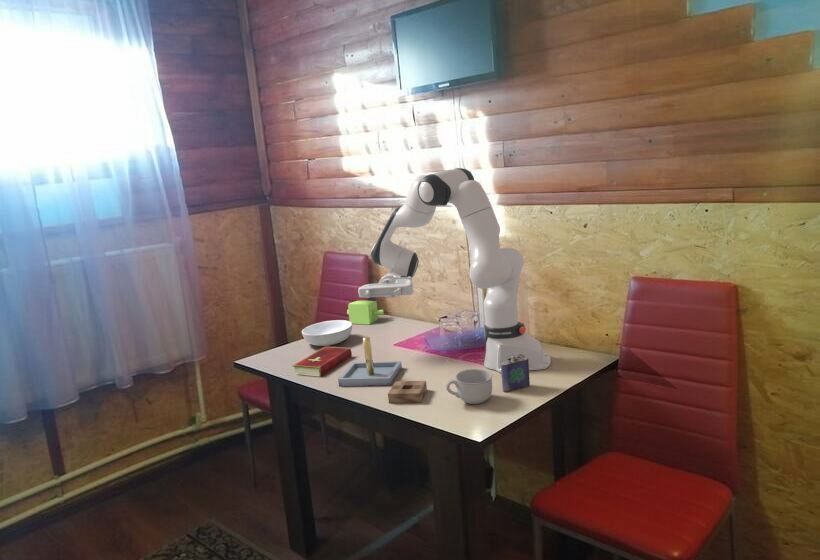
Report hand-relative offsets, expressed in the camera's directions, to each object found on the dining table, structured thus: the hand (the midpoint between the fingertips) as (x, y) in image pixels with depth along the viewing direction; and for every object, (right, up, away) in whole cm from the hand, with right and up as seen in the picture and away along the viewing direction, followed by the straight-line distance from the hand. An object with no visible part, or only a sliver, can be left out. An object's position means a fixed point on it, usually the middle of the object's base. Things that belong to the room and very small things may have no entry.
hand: (380, 295), depth 219 cm
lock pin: (-3, -27, -7) cm, 28 cm away
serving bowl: (-23, -21, +39) cm, 50 cm away
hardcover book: (-22, -27, +11) cm, 36 cm away
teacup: (+28, -31, -35) cm, 55 cm away
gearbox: (-9, -14, +65) cm, 67 cm away
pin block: (+10, -31, -27) cm, 42 cm away
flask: (+43, -28, -30) cm, 59 cm away
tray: (-3, -28, -6) cm, 29 cm away
